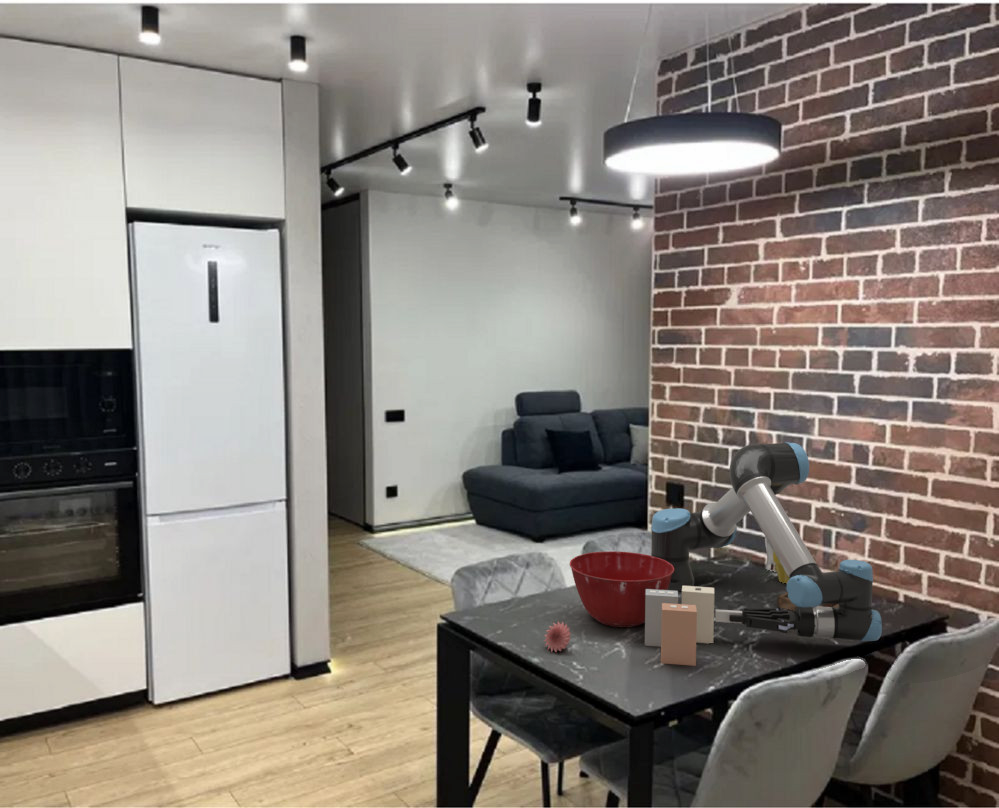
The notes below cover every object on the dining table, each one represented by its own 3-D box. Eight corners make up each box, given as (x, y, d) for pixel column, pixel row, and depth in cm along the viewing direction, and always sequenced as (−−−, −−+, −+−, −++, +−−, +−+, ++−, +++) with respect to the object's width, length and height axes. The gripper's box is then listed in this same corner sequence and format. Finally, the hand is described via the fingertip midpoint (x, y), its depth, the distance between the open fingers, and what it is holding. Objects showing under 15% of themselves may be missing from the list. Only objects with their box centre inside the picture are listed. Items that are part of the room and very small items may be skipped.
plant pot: (765, 578, 261) (766, 548, 261) (794, 576, 264) (795, 546, 263) (784, 587, 251) (785, 557, 251) (813, 585, 254) (814, 555, 253)
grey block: (644, 645, 203) (645, 594, 202) (644, 638, 208) (645, 588, 207) (677, 647, 202) (678, 596, 201) (676, 640, 207) (677, 590, 206)
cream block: (680, 640, 206) (681, 590, 205) (681, 634, 211) (682, 584, 210) (713, 643, 204) (714, 592, 203) (712, 636, 209) (714, 587, 208)
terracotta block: (661, 663, 192) (662, 608, 191) (661, 655, 197) (661, 602, 196) (695, 665, 190) (696, 611, 189) (694, 657, 195) (695, 604, 194)
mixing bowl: (692, 618, 223) (693, 563, 222) (635, 646, 203) (636, 586, 201) (608, 596, 243) (609, 545, 241) (548, 619, 222) (548, 564, 221)
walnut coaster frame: (777, 606, 233) (777, 596, 233) (805, 593, 246) (805, 583, 246) (832, 620, 222) (832, 609, 222) (858, 605, 234) (859, 595, 234)
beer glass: (783, 573, 267) (784, 528, 266) (761, 570, 271) (763, 526, 270) (788, 568, 273) (789, 525, 272) (767, 565, 277) (768, 522, 275)
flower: (567, 619, 205) (555, 612, 201) (584, 641, 199) (572, 633, 195) (545, 641, 205) (533, 634, 202) (561, 664, 199) (550, 657, 196)
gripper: (817, 645, 195) (717, 638, 200) (807, 627, 208) (713, 621, 213) (818, 615, 195) (717, 609, 199) (808, 598, 208) (714, 593, 212)
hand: (715, 615), depth 206 cm, fingers closed
